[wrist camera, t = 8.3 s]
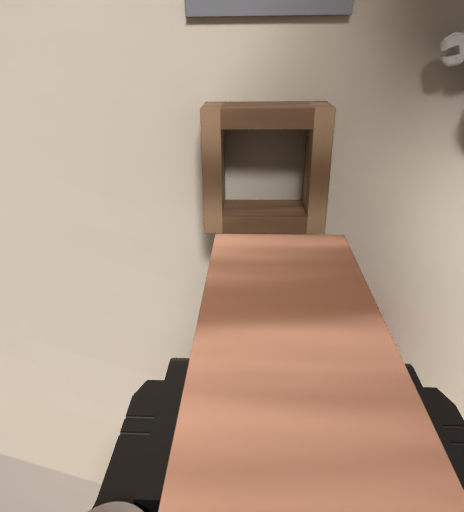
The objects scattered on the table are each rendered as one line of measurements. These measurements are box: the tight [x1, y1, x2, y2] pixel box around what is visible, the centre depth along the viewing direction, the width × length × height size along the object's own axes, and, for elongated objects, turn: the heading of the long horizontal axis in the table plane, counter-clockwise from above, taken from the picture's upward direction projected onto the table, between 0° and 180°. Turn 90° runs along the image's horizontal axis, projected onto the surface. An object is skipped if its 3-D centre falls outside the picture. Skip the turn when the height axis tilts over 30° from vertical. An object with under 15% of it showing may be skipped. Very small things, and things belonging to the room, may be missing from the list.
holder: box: [200, 101, 336, 234], centre depth 29 cm, size 8×8×4 cm
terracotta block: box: [158, 234, 464, 512], centre depth 10 cm, size 4×4×10 cm
